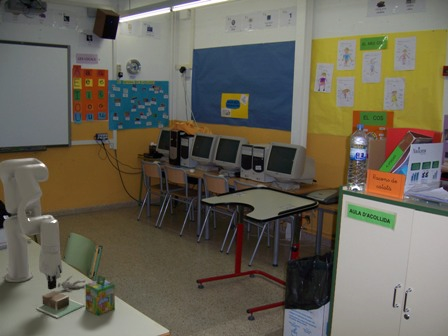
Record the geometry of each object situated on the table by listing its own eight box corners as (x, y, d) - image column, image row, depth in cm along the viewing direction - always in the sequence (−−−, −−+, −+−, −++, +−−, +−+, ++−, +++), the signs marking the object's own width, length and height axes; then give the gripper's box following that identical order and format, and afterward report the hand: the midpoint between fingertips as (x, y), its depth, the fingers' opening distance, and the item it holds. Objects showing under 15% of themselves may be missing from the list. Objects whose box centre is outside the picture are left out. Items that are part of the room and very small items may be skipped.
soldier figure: (85, 291, 223) (60, 289, 216) (81, 295, 226) (56, 293, 219) (85, 276, 227) (61, 273, 221) (81, 280, 230) (57, 277, 224)
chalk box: (85, 309, 203) (84, 277, 201) (102, 302, 210) (102, 270, 208) (97, 316, 197) (97, 283, 195) (115, 308, 204) (115, 276, 202)
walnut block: (42, 295, 206) (56, 301, 200) (54, 290, 211) (68, 296, 205) (42, 304, 206) (57, 310, 201) (54, 299, 211) (69, 305, 206)
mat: (36, 309, 202) (36, 308, 202) (63, 297, 214) (63, 296, 214) (57, 318, 195) (57, 317, 195) (84, 305, 206) (84, 304, 206)
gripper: (31, 246, 204) (34, 287, 207) (54, 254, 196) (56, 295, 199) (46, 242, 210) (48, 281, 213) (69, 249, 202) (70, 289, 205)
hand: (52, 288), depth 206 cm, fingers closed
